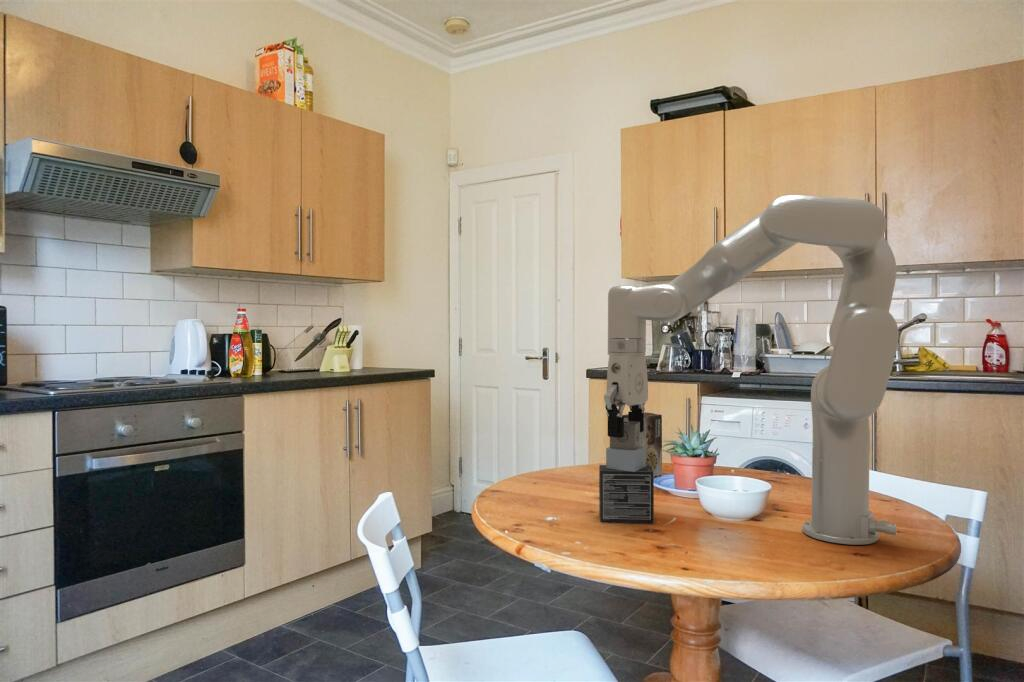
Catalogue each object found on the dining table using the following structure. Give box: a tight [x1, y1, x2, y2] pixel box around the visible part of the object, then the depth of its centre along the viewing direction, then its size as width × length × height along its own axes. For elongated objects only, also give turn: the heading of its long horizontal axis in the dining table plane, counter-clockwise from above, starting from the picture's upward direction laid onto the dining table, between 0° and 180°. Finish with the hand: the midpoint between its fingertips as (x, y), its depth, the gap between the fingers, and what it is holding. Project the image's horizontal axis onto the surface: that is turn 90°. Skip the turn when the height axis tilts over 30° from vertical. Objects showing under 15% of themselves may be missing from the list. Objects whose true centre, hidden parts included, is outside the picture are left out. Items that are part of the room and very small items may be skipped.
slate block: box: [605, 446, 646, 472], centre depth 135 cm, size 6×6×4 cm
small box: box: [598, 464, 655, 525], centre depth 135 cm, size 11×6×10 cm, turn 85°
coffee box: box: [621, 411, 663, 477], centre depth 175 cm, size 9×6×16 cm
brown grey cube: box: [609, 421, 640, 450], centre depth 135 cm, size 5×5×5 cm
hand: (626, 434), depth 135 cm, fingers open, 8 cm apart
